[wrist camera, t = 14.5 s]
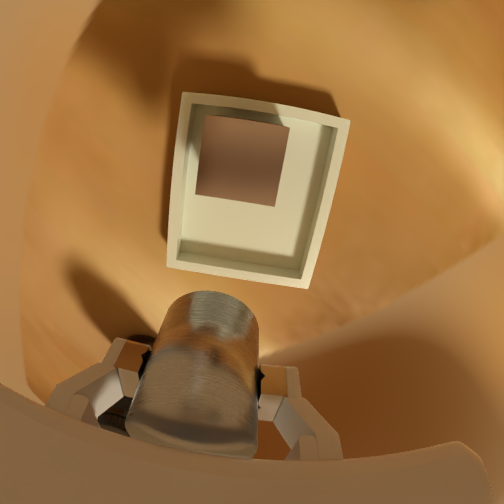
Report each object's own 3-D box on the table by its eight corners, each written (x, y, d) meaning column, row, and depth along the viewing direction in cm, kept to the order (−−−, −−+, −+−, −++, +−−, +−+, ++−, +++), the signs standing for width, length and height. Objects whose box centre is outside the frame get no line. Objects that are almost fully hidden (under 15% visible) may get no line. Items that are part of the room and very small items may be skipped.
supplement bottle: (129, 370, 34) (100, 446, 23) (115, 330, 31) (73, 410, 20) (180, 376, 34) (159, 459, 23) (170, 335, 31) (140, 426, 20)
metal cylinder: (165, 282, 12) (114, 392, 7) (267, 299, 13) (270, 419, 7) (166, 353, 14) (134, 453, 9) (250, 367, 15) (246, 473, 9)
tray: (189, 93, 20) (182, 91, 18) (341, 119, 21) (350, 120, 19) (173, 254, 27) (166, 266, 24) (304, 274, 27) (308, 288, 25)
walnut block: (217, 115, 21) (205, 114, 16) (283, 125, 21) (290, 127, 16) (208, 178, 23) (194, 194, 18) (271, 188, 23) (274, 207, 18)
